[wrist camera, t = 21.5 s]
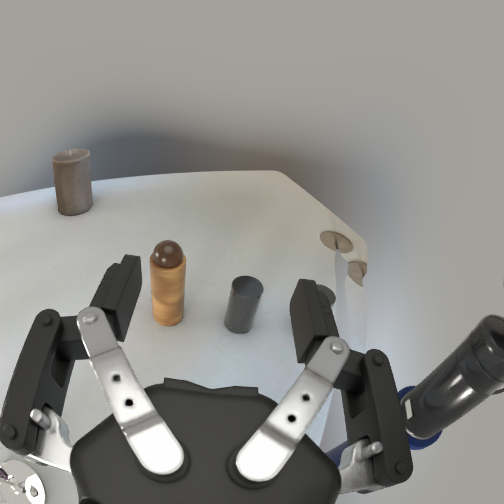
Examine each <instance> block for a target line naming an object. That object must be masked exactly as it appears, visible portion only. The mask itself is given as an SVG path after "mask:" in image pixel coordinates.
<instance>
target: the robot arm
mask: <svg viewBox="0 0 504 504" xmlns="http://www.w3.org/2000/svg"><path fill="white" fill-rule="evenodd" d="M503 284H504V283H503ZM141 286H142V273H141V259H140V256H134V255H127V254H126V255H125V256H124V257H123V259H122V261H121V264H118V263H114V264H113V265H112V266H110V267H109V268H108V269H107V271H106V273H105V275H104V278H103V279H102V281H101V284H100V285H99V287H98V289H97V291H96V293H95V295H94V297H93V299H92V302H91V304H90V306H89V307H87V308H84V309H83V310H81V311H80V312H79V314H78V315H77V316H68V317H60V315H59V313H58V312H57V311H55V310H53V309H46V310H43V311H41V312H40V313H39V314H38V315H37V316H36V318H35V320H34V322H33V324H32V327H31V329H30V331H29V334H28V336H27V338H26V341H25V343H24V346H23V348H22V351H21V353H20V356H19V359H18V361H17V364H16V367H15V370H14V372H13V375H12V378H11V381H10V384H9V388H8V391H7V394H6V398H5V401H4V405H3V408H2V412H1V416H0V441H1V442H2V444H3V445H4V446H5V447H7V448H8V449H10V450H12V451H14V452H15V453H16V454H18V455H19V456H21V457H23V458H25V459H27V460H29V461H31V462H35V463H37V464H39V465H42V466H47V465H50V466H53V467H56V468H59V469H62V470H65V471H68V472H71V473H72V475H73V477H74V480H75V483H76V486H77V490H78V496H79V504H335V501H336V499H337V497H338V495H339V494H342V493H350V492H356V491H357V492H358V493H361V494H366V493H370V492H374V491H377V490H380V489H384V488H387V487H390V486H393V485H396V484H399V483H402V482H405V481H406V480H407V479H408V478H409V477H410V476H411V474H412V471H413V463H412V457H411V451H410V446H409V441H408V436H407V434H408V435H409V436H410V437H412V438H414V439H417V440H426V439H429V438H431V437H432V436H434V435H435V434H436V433H438V432H439V431H441V430H443V429H444V428H446V427H448V426H449V425H450V424H452V423H454V422H455V421H456V420H458V419H459V418H461V417H462V416H464V415H465V414H467V413H468V412H469V411H471V410H472V409H473V408H475V407H476V406H478V405H479V404H480V403H481V402H482V401H484V400H485V399H487V398H488V397H489V396H490V395H493V394H498V393H501V392H504V388H503V389H500V390H497V389H498V388H500V387H501V386H502V385H503V384H504V317H502V316H500V315H496V314H489V315H487V316H485V317H484V318H482V319H481V321H480V322H479V323H478V324H477V325H476V326H475V328H474V329H473V330H472V331H471V332H470V333H469V334H468V336H467V337H466V338H465V339H464V340H463V341H462V342H461V343H460V345H459V346H458V347H457V348H456V349H455V350H454V351H453V352H452V353H451V354H450V355H449V356H448V357H447V358H446V359H445V360H444V361H443V362H442V363H441V364H440V365H439V366H438V367H437V368H436V369H435V370H434V371H433V372H432V373H431V374H429V376H427V377H426V378H425V379H424V380H423V381H422V382H421V383H420V384H418V385H417V386H416V387H415V388H414V389H413V390H411V391H410V392H408V393H407V394H406V395H405V396H404V397H403V398H402V399H401V401H400V400H399V396H398V392H397V388H396V385H395V381H394V377H393V373H392V370H391V366H390V363H389V360H388V358H387V356H386V355H385V354H384V353H383V352H382V351H380V350H377V349H371V350H369V351H367V353H366V354H363V353H360V352H357V351H354V350H351V349H349V346H348V344H347V343H346V342H345V341H344V340H343V339H341V338H340V337H339V334H338V330H337V327H336V323H335V320H334V316H333V315H332V314H333V313H332V309H331V306H330V302H329V299H328V298H327V296H326V295H325V294H324V292H323V291H318V289H317V286H316V282H315V281H314V280H307V279H299V281H298V283H297V286H296V288H295V291H294V293H293V296H292V298H291V301H290V316H291V322H292V329H293V335H294V341H295V348H296V355H297V361H298V363H305V366H306V367H305V369H304V370H303V372H302V373H301V374H300V376H299V377H298V379H297V380H296V381H295V383H294V384H293V385H292V387H291V388H290V390H289V391H288V392H287V394H286V395H285V396H284V397H283V399H282V400H281V401H280V403H279V404H277V403H276V402H275V401H273V400H272V399H270V398H268V397H266V396H264V395H262V394H258V387H243V386H232V387H225V388H217V389H209V388H206V387H203V386H200V385H197V384H194V383H192V382H189V381H185V380H178V379H171V378H165V377H164V383H162V384H155V385H152V386H149V387H146V388H144V389H143V387H142V386H141V384H140V382H139V380H138V378H137V377H136V375H135V373H134V371H133V369H132V367H131V365H130V363H129V361H128V360H127V358H126V356H125V354H124V352H123V350H122V348H121V347H120V346H119V345H118V342H117V341H121V342H124V340H125V337H126V334H127V330H128V327H129V324H130V321H131V318H132V315H133V312H134V309H135V306H136V303H137V300H138V297H139V294H140V291H141ZM83 359H89V360H90V363H91V366H92V368H93V370H94V373H95V375H96V378H97V380H98V382H99V385H100V387H101V389H102V391H103V393H104V396H105V398H106V400H107V402H108V404H109V406H110V408H111V410H112V412H113V413H112V414H111V415H110V416H108V417H107V418H106V419H105V420H103V421H102V422H101V423H100V424H98V425H97V426H96V427H95V428H93V429H92V430H91V431H90V432H88V433H87V434H86V435H84V436H83V437H82V438H81V439H79V440H78V441H77V442H76V443H75V445H74V446H72V445H71V443H70V440H69V429H68V426H67V424H66V423H65V421H64V420H63V419H61V415H62V411H63V406H64V401H65V397H66V393H67V389H68V385H69V381H70V377H71V373H72V370H73V366H74V363H75V360H83ZM333 388H336V389H340V390H341V394H342V401H343V408H344V415H345V422H346V430H347V438H348V447H347V448H346V449H345V450H344V451H343V453H342V455H341V463H340V466H339V467H337V466H336V464H335V463H334V462H333V461H332V460H331V459H330V458H329V457H328V456H327V455H326V454H325V453H324V452H323V451H322V450H321V449H320V448H319V447H318V446H317V445H316V444H315V443H314V442H313V441H312V440H311V439H310V438H309V437H308V436H307V435H306V431H307V429H308V428H309V426H310V425H311V423H312V422H313V420H314V419H315V417H316V416H317V414H318V412H319V411H320V409H321V407H322V406H323V404H324V403H325V401H326V399H327V398H328V396H329V394H330V392H331V391H332V389H333Z"/></svg>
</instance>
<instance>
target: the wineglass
mask: <svg viewBox="0 0 504 504" xmlns="http://www.w3.org/2000/svg"><path fill="white" fill-rule="evenodd" d="M0 492H1V494H2V496H3V497H4V499H5V500H6V502H7V503H8V504H45V501H46V494H45V489H44V486H43V483H42V481H41V479H40V478H39V476H38V475H37V473H36V472H35V471H34V470H33V469H32V468H31V467H30V466H28V465H27V464H25V463H23V462H21V461H17V460H9V461H6V462H5V463H3V464H2V465H1V467H0Z"/></svg>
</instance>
